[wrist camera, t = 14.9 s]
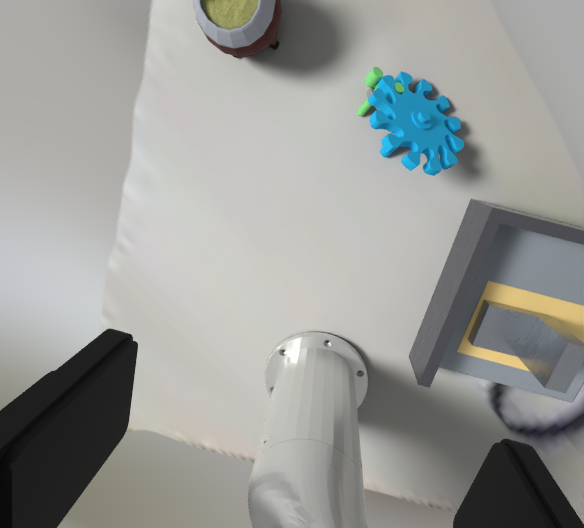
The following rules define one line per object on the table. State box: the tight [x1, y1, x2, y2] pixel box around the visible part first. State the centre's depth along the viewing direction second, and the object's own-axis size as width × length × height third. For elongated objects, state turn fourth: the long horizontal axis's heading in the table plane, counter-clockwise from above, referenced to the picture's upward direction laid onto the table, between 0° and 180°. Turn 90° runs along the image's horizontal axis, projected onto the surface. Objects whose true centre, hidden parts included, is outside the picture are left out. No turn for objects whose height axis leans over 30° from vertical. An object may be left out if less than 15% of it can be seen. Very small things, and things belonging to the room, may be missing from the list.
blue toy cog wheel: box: [357, 67, 464, 175], centre depth 35 cm, size 11×6×10 cm
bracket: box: [468, 299, 584, 393], centre depth 38 cm, size 7×5×7 cm
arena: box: [409, 199, 584, 403], centre depth 38 cm, size 19×19×6 cm
